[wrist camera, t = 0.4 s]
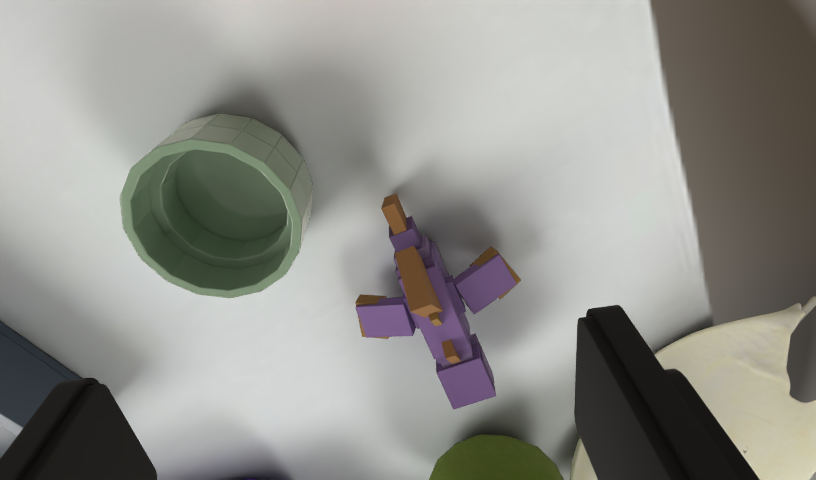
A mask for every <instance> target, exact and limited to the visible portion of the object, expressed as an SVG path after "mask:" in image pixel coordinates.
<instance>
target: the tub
mask: <svg viewBox="0 0 816 480" xmlns="http://www.w3.org/2000/svg"><path fill="white" fill-rule="evenodd" d="M78 379H81V378H80V377H78V376H77V375H75V374H74V373H73V372H71V371H70V370H68V369H67V368H65V367H64V366H63V365H61V364H60V363H58V362H57V361H55V360H54V359H53V358H51V357H50V356H48V355H47V354H45V353H44V352H43V351H41V350H40V349H38V348H37V347H35V346H34V345H33V344H31V343H30V342H28V341H27V340H25V339H24V338H23V337H21V336H20V335H18V334H17V333H15V332H14V331H13V330H11V329H10V328H8V327H7V326H5V325H4V324H3V323H1V322H0V459H1V457H2V456H3V455H4V453H5V452H6V451H7V449H8V448H9V447H10V445H11V444H12V443H13V441H14V440H15V439H16V437H17V436H18V435H19V433H20V432H21V431H22V429H23V428H24V427H25V425H26V424H27V423H28V421H29V420H30V419H31V417H32V416H33V415H34V413H35V412H36V411H37V409H38V408H39V407H40V405H41V404H42V403H43V401H44V400H45V399H46V397H47V396H48V395H49V393H50V392H51V391H52V389H53V388H54V387H55V386H56V385H57V384H58V383H61V382H63V381H71V380H78Z"/></svg>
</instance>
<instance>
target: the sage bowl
mask: <svg viewBox="0 0 816 480" xmlns="http://www.w3.org/2000/svg"><path fill="white" fill-rule="evenodd" d="M312 198H313V184H312V181H311V179H310V176H309V173H308V170H307V167H306V165H305V162H304V160H303V158H302V157H301V156H300V154H299V153H298V152H297V151H296V150H295V149H294V147H293V146H292V145H291V144H290V143H289V142H288V141H287V139H286V138H285V137H284V136H283V135H282V134H281V133H279V132H277V131H275V130H274V129H272V128H270V127H268V126H266V125H264V124H263V123H261V122H259V121H257V120H255V119H252V118H249V117H242V116H235V115H228V114H218V113H217V114H214V115H210V116H206V117H202V118H198V119H194V120H190V121H189V122H187V123H185V124H184V125H183V126H182V127H180V128H179V129H178V130H177V131H175V132H174V133H173V134H172V135H170V136H169V137H168V138H167V139H165V140H164V141H163V142H162V143H160V144H159V145H158V146H157V147H156V148H154V149H153V150H152V151H151V152H150V153H148V154H147V155H146V156H145V157H144V158H142V159H141V160H140V161H139V162H138V163H136V164H135V165H134V166H133V167H132V168H131V169H130V172H129V174H128V177H127V180H126V182H125V185H124V187H123V190H122V193H121V195H120V205H121V213H122V222H123V229H124V231H125V233H126V235H127V237H128V238H129V240H130V242H131V243H132V245H133V247H134V249H135V250H136V252H137V254H138V256H139V257H140V258H141V260H143V261H144V262H145V263H146V264H147V265H148V266H150V267H151V268H152V269H153V270H154V271H155V272H157V273H158V274H159V275H160V276H161V277H162V278H163V279H165V280H167V281H168V282H170V283H172V284H175V285H177V286H179V287H182V288H184V289H186V290H189V291H191V292H193V293H196V294H199V295H207V296H216V297H225V298H234V297H238V296H243V295H247V294H252V293H256V292H260V291H263V290H264V289H265V288H267V287H268V286H270V285H271V284H273V283H274V282H276V281H277V280H279V279H280V278H282V277H283V276H285V274H286V273H287V272H288V270H289V268H290V267H291V265H292V263H293V262H294V260H295V258H296V256H297V255H298V253H299V251H300V248H301V245H302V242H303V239H304V235H305V232H306V229H307V225H308V222H309V219H310V215H311V211H312Z"/></svg>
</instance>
